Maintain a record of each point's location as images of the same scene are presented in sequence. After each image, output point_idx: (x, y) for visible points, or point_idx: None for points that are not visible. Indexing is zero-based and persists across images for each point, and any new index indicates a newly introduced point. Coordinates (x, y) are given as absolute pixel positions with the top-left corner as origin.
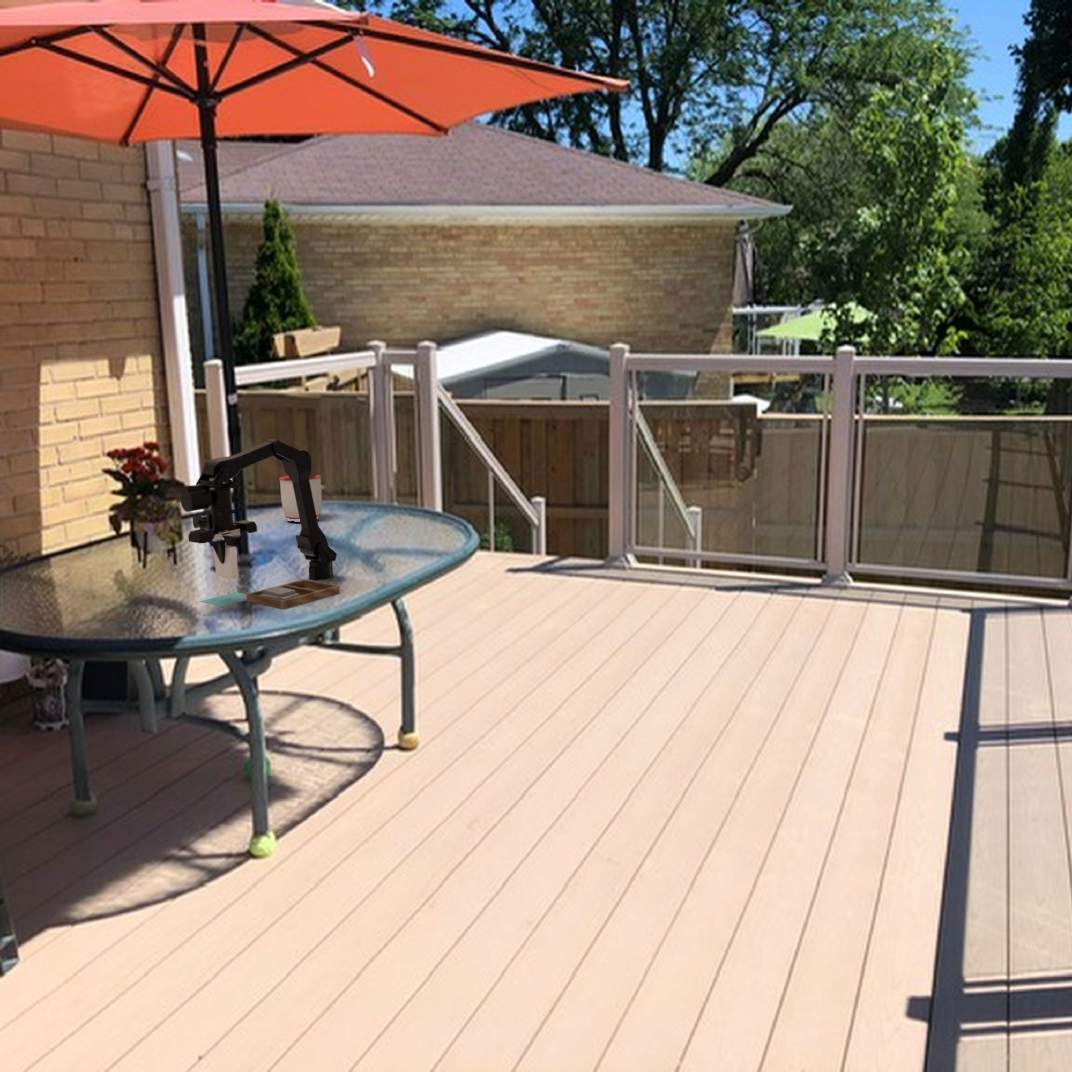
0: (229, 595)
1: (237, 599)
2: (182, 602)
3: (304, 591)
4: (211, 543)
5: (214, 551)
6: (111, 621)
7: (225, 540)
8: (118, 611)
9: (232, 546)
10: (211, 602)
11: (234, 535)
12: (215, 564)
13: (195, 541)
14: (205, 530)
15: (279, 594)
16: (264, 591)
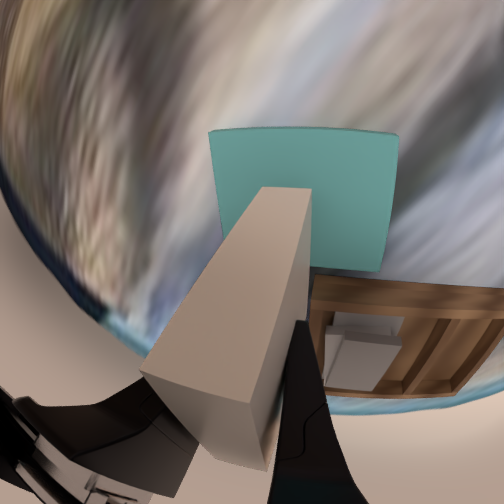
0: (343, 160)
1: (315, 237)
2: (194, 44)
3: (416, 371)
4: (90, 418)
5: (182, 311)
6: (35, 119)
7: (174, 494)
8: (58, 39)
9: (255, 466)
10: (229, 187)
11: None
12: (237, 224)
13: (6, 399)
14: (23, 482)
15: (325, 384)
16: (341, 344)
